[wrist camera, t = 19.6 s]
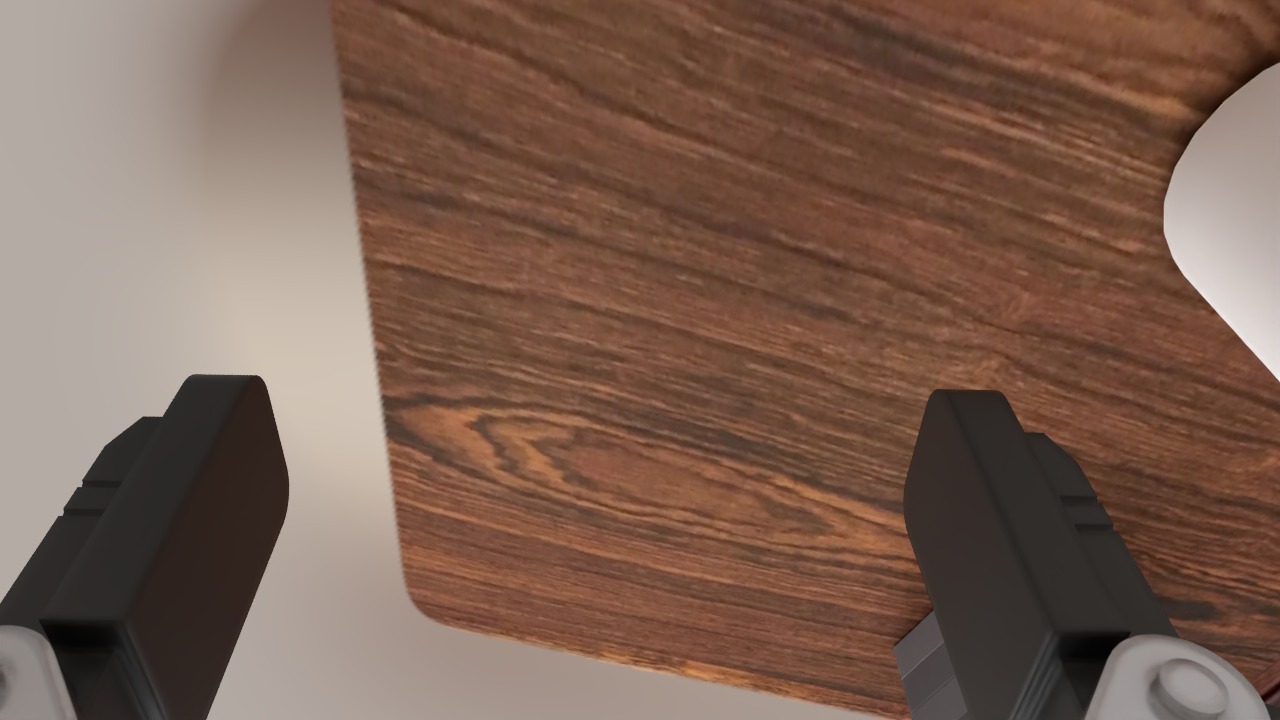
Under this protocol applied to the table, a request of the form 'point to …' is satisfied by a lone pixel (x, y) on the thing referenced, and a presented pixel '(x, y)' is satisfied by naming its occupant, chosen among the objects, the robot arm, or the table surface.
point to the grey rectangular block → (929, 674)
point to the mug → (1234, 214)
